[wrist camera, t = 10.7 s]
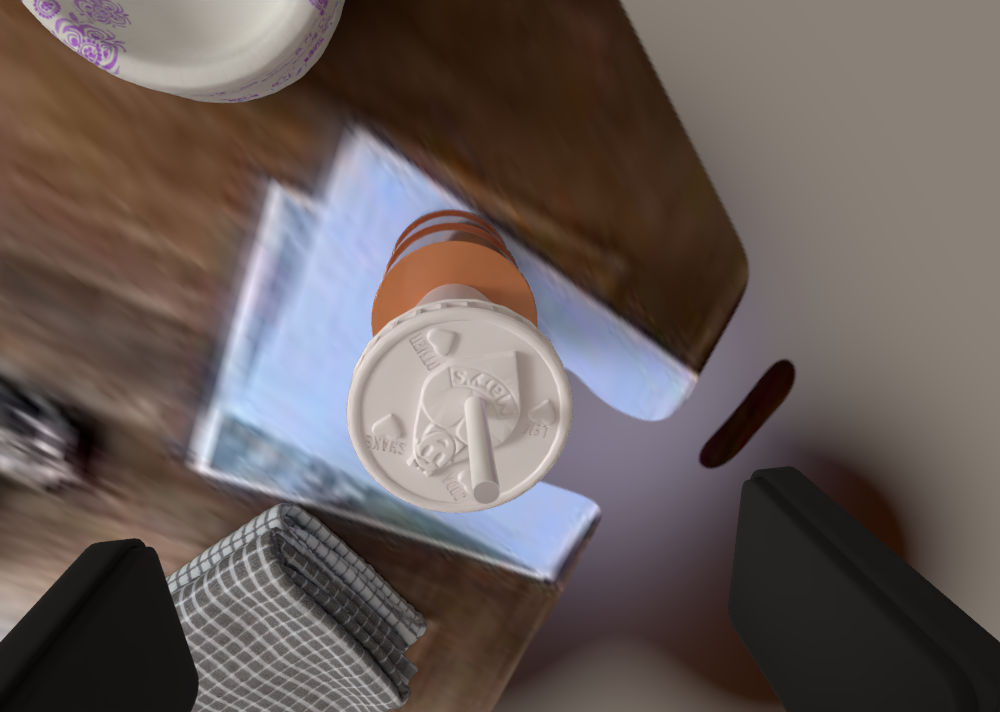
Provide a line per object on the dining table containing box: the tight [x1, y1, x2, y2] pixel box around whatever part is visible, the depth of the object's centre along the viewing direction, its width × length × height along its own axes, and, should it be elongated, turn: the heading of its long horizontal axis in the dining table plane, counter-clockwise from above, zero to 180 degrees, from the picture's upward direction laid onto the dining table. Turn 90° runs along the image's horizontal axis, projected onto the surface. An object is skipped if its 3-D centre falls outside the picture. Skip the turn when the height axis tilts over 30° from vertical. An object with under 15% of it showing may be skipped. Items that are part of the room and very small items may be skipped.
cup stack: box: [371, 209, 537, 337], centre depth 30 cm, size 8×8×14 cm
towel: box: [166, 503, 428, 712], centre depth 41 cm, size 15×18×8 cm
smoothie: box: [347, 284, 573, 513], centre depth 17 cm, size 6×6×14 cm
